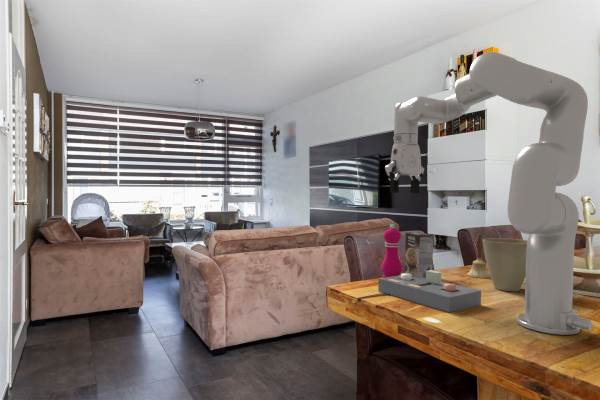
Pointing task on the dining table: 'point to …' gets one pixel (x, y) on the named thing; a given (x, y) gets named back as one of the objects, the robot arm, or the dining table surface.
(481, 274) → the hand bell
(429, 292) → the switch panel
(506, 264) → the plant pot
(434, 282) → the pale green block
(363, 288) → the dining table surface
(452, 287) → the terracotta button
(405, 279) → the off white button
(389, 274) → the pepper mill
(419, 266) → the coffee box
